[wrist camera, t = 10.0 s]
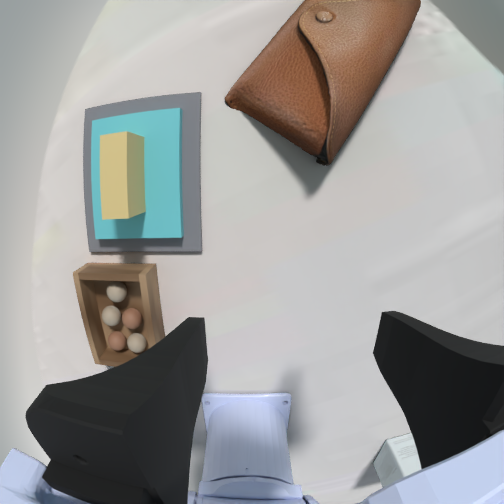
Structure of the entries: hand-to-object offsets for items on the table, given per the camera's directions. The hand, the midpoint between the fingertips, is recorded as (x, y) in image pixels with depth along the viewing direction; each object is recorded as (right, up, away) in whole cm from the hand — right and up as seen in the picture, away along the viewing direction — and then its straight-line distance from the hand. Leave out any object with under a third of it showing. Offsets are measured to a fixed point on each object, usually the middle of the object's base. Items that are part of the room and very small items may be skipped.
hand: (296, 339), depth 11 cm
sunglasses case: (+4, +19, +6) cm, 20 cm away
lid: (-10, +9, +7) cm, 15 cm away
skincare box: (+18, -22, +17) cm, 33 cm away
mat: (-10, +9, +8) cm, 15 cm away
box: (-12, -1, +10) cm, 16 cm away
